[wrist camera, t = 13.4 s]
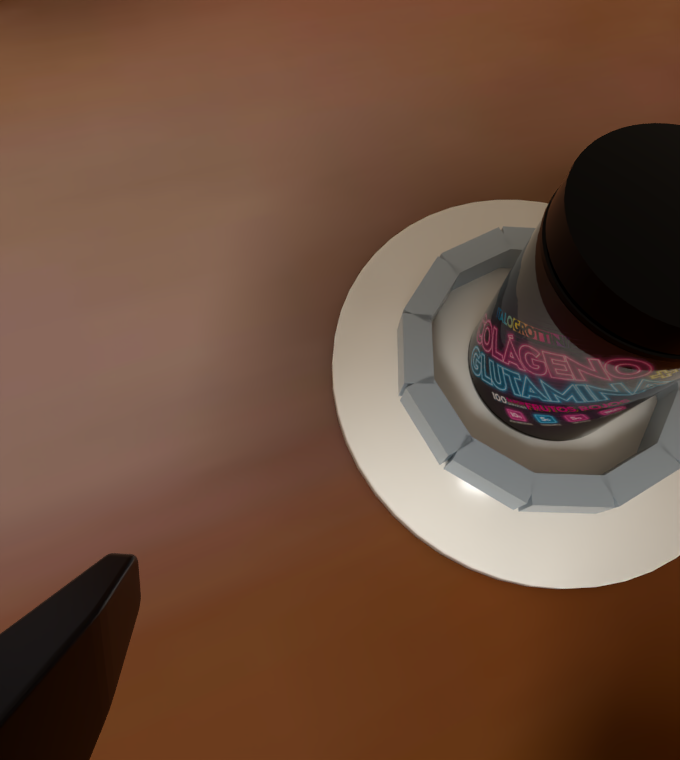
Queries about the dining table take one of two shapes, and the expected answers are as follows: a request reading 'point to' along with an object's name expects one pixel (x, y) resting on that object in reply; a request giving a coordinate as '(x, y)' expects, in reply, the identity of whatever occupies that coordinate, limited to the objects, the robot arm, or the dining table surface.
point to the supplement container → (590, 295)
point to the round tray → (491, 422)
